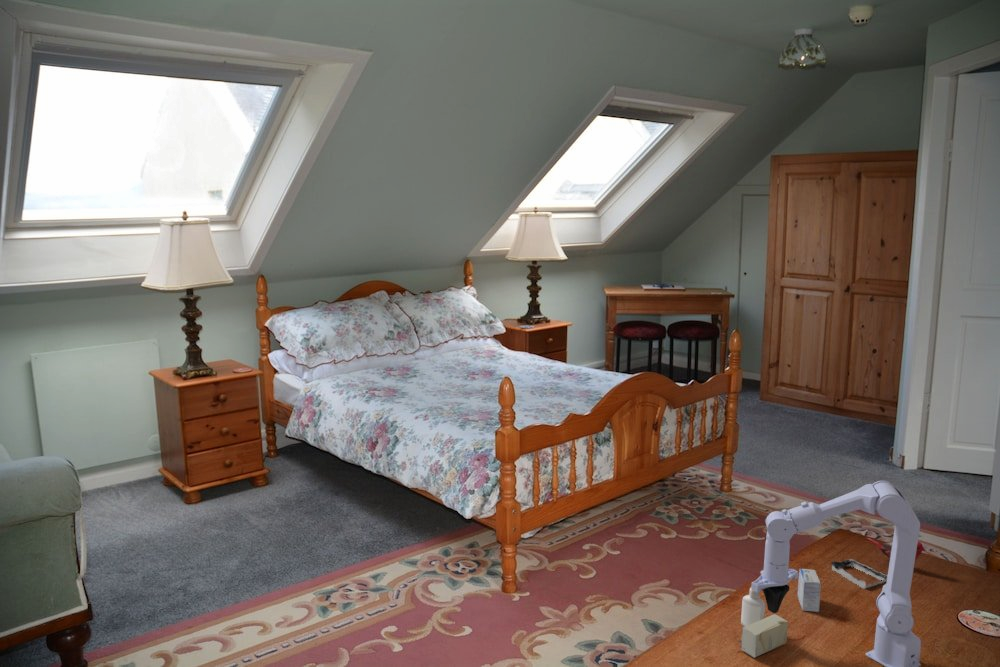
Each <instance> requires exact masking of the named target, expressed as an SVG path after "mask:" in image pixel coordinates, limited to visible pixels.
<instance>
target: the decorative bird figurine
mask: <svg viewBox="0 0 1000 667" xmlns="http://www.w3.org/2000/svg"><path fill="white" fill-rule="evenodd" d="M864 538H865V539H866V540H867V541H869V542H871V544H872V543H873V545H875V546H876V547H877V548H878V549H879V550H880V551H881V552H882V554H883V555H885V556H886V557H888V558H889V559H890V556H891V550H892V543H893V542H884V543H880V542H879V541H876V540H874V539H872V538H869V537H867V536H864ZM922 552H927V550H926V548H924V547H923V543H922V542H920V541H919V540H918V544H917V550H916V556H915V561H916V560H917V559H918V558H919V556H920V555H922Z"/></svg>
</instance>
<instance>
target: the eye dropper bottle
mask: <svg viewBox="0 0 1000 667" xmlns="http://www.w3.org/2000/svg"><path fill="white" fill-rule="evenodd" d="M748 592H749V593H748V594H746V595H744V596H743V597H742V602H741V616H740V624H741V625H742V626H743V627H745V626H748V625H750V624H752V623H755V622H757V621H760V620H762V619H764V618H765V612H766V611H765V610H766V603H765V601H764V600H763V599H762V598H761V597H760V592H759V593H757V592H755V591H753V590H751V587H750V588H749V591H748Z"/></svg>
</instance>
